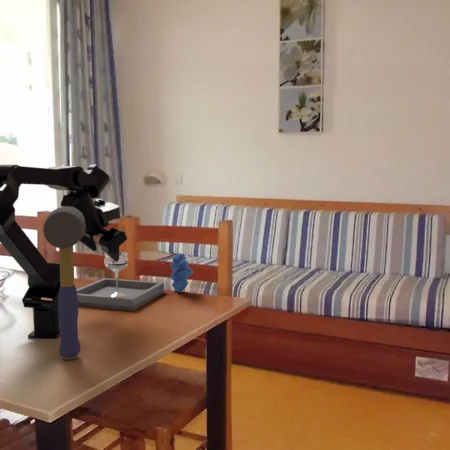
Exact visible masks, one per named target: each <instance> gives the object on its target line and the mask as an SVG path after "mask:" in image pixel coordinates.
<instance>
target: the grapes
mask: <svg viewBox="0 0 450 450" xmlns="http://www.w3.org/2000/svg"><path fill="white" fill-rule="evenodd" d="M186 259H187V257H186V256H185V254H184V253H179V254H178V253H177V254H175V255H173V257H172V259H171V260H172V263H171V264H170V267H169V268H170V269H171V271H172V273H171V274H170V276H169V277H170V279H171V280H172V281H173V282H172V284H171V286H172V287H173V288H174V289H175V290H176V292H178V293H182V292H184V291H185V289H186V288H187V286H188V284H189V281H188V280H187V279H188V278H190V277H191V276H192V275H193V273H194V270H193V269H192V268H191V266H189V265H190V264H189V262H188V261H187V260H186Z"/></svg>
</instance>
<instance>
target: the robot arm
mask: <svg viewBox="0 0 450 450" xmlns="http://www.w3.org/2000/svg"><path fill="white" fill-rule="evenodd" d="M109 183H110V176H109V174H107V172H105V171H104V170H103V169H101V168H99V167H98V165H97V164H89V165H88V167H87V169H85V170H84V167H82V166H81V165H57V166H50V167H48V168H47V167H34V166H23V165H22V166H21V165H20V164H19V165H18V164H0V189H1V188H3V189H2V190H0V244H1V245H2V246H3V248H4V249H5V250H6V251H7V252H8V254H9V255H10V256H12V257H11V258H13V259H14V260H15V262H16V263H17V264H18V266H20V267H21V269H22V270H23V271H24V272H25V274H27V286H28V288H27V290H26V292H25V293H24V296H23V297H22V300H21V302H22V304H23V307H24V308H31V309H32V316H33V317H32V318H33V330H32V331H31V332H30V333H29V334H27V337H28V338H31V339H32V338H37V339H38V338H39V339H41V338H43V339H47V338H49V339H56V338H58V337H59V336H61V329H60V319H59V312H58V299H59V289H60V262H48V261H47V260H46V259H45V257H44V256H43V255H42V253H41V252H40V251H39V249H38V247H36V246H35V245H34V243H33V241H31V239H30V238H29V236H28V235H27V234H26V233H25V231H24V230H23V229H22V227H21V226H20V224H18V222H17V221H16V208H15V207H14V205H15V204H16V202H17V200H18V199H19V195H20V187H21V185H39V186H40V185H41V186H43V185H44V186H47V187H48V188H50V189H53V190H55V191H56V190H57V191H68V192H67V194H63V195H62V196H63V197H62V199H61V201H60V207H65V206H69V207H74V208H76V209H78V210H79V211H80V212H81V213H82V214H83V216H84V218H85V223H86V228H85V233H84V235H83V237H82V238H81V239H80V240H79V241H78V242H79V243H81V244H83V245H84V246H85V247H87V248H88V249H90V250H91V251H93V252H96V251H97V249H98V247H97V244H96V242H95V239H94V237H99V240H98V246H99V247H100V248H101V249H100V250H101V251H102V252H103V254H104V253H106V254H107V255H108V256H109V257H110V258H111V259H113V260H114V261H115V262H117V261H118V260H119V251H120V246H121V245H122V244H124V243H125V242H126V241H127V240H128V236H127V233H126V231H125V230H123V229H119V228H117V227H111V228H110V229H109V230H108V229H105V228H106V227H109V225H110V223H109V222H111V221H114V220H118V219H120V218H121V209H120V205H118V204H115V203H113V202H108V201H105V200H104V199H102V198H98V197H100V195H101V193H103V191H104V190H105V188H106V187H107V186H108V184H109ZM3 186H4V187H3ZM96 198H97V199H96ZM93 199H95V200H93ZM50 299H51V300H50Z"/></svg>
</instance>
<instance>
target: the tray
mask: <svg viewBox="0 0 450 450" xmlns="http://www.w3.org/2000/svg"><path fill="white" fill-rule="evenodd" d="M76 290H77V297H78V307H79V306H80V307H89V308H90V307H91V308H99V309H101V308H102V309H107V310H108V309H111V310H118V311H119V310H120V311H129V312H130V311H131V312H133V311H135V310H137V309H139V308H141V307H142V306H144V305H146V304H147V303H149V302H151V301H153V300H154V299H157V297H159V296H160V295H162V294H164V293H165V282H161V281H159V282H158V281H145V280H133V279H122V278H121V279H120V278H118V292H121V293H125V294H126V295H125V296H121V297H112V296H108V295H109V294H111V293H114V292H116V279H115V278H108V277H107V278H106V277H105V278H102V279H99V280H96V281H94V282H92V283H89V284H86V285H84V286H82V287H79V288H76Z"/></svg>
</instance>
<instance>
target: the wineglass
mask: <svg viewBox="0 0 450 450" xmlns="http://www.w3.org/2000/svg"><path fill="white" fill-rule="evenodd" d="M103 254H104V256H105V257H104V259H103V262H104V265H105V267H106V268H107V269H108V270H109V271H112V272H113V273H114V275H115V278H114V279H116V292H114V293H111V294H109V295H108V296H112V297H121V296H125V295H126V294H125V293H121V292H118V279H119V273H120V271H122V270H124V269H126V267H127V266H128V264H129V257H128V254H129V252H127V251H120V250H119V260H118V261H117V262H115V261H114V260H113V259H111V258H110V257H109V256H108V255H107V254H106V253H104V252H103Z"/></svg>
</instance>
